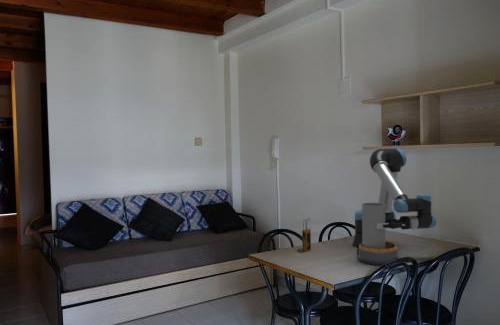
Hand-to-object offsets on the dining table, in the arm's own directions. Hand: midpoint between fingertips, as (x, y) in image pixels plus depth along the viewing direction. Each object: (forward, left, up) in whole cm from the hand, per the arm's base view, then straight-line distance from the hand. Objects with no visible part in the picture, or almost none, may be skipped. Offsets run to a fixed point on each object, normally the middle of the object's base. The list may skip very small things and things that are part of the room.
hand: (371, 224), depth 246 cm
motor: (0, +3, -21) cm, 21 cm away
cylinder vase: (0, +1, -14) cm, 14 cm away
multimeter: (-46, -15, -21) cm, 52 cm away
